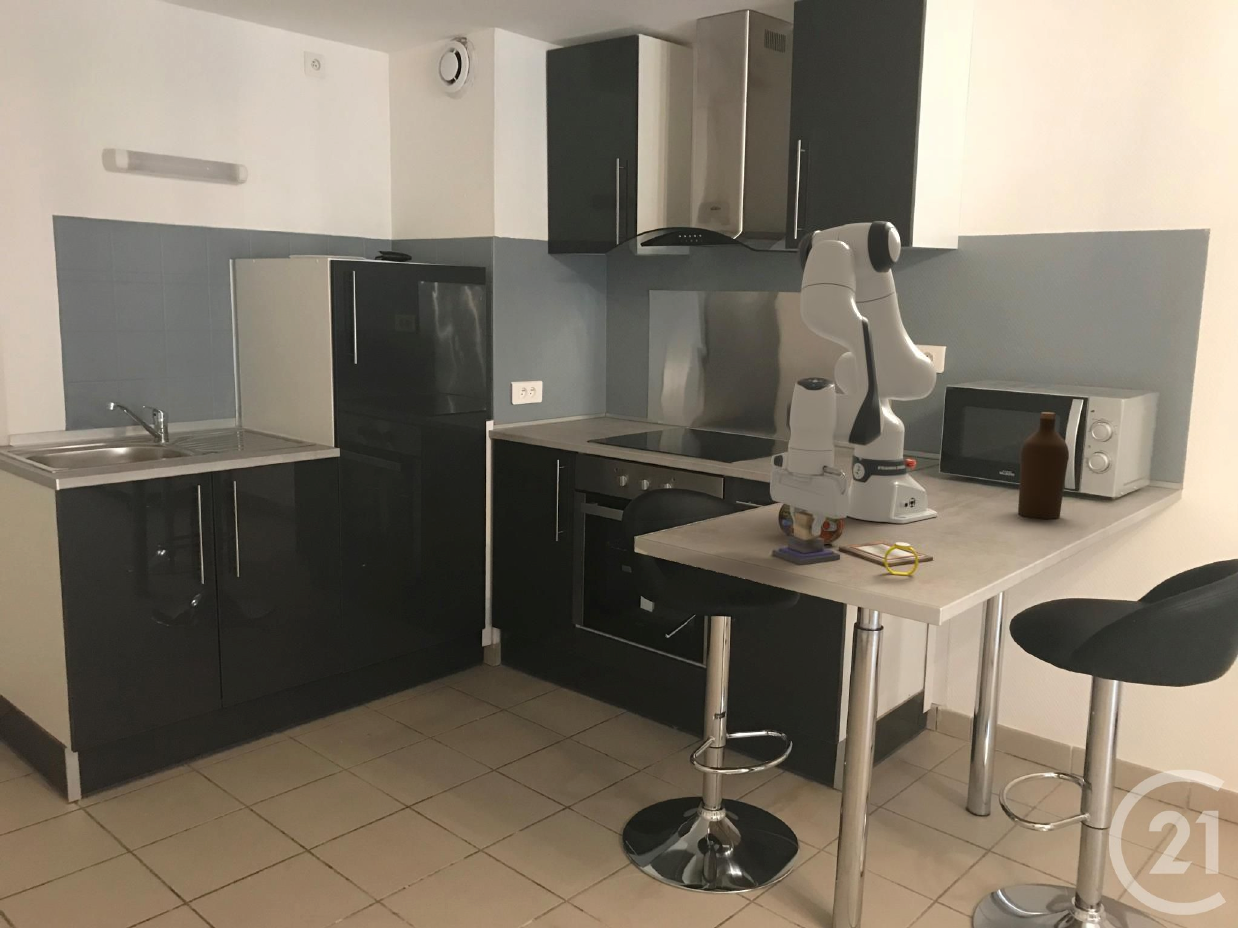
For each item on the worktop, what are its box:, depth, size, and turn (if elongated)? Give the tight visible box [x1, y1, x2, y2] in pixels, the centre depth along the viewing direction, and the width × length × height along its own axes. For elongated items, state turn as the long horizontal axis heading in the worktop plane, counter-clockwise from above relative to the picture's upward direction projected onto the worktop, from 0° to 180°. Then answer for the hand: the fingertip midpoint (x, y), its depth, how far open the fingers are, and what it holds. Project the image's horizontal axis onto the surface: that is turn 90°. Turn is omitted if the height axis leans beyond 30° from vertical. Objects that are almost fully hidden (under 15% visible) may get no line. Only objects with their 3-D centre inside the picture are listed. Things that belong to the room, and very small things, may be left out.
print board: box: [837, 540, 934, 567], centre depth 196 cm, size 12×14×1 cm
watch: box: [884, 541, 919, 577], centre depth 181 cm, size 6×3×6 cm, turn 78°
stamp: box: [786, 511, 825, 553], centre depth 192 cm, size 5×5×7 cm
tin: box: [777, 503, 844, 545], centre depth 206 cm, size 15×3×8 cm, turn 45°
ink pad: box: [771, 546, 841, 566], centre depth 193 cm, size 10×8×2 cm
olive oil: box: [1017, 411, 1070, 520], centre depth 236 cm, size 11×11×25 cm
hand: (806, 531), depth 192 cm, fingers closed on stamp, 3 cm apart
